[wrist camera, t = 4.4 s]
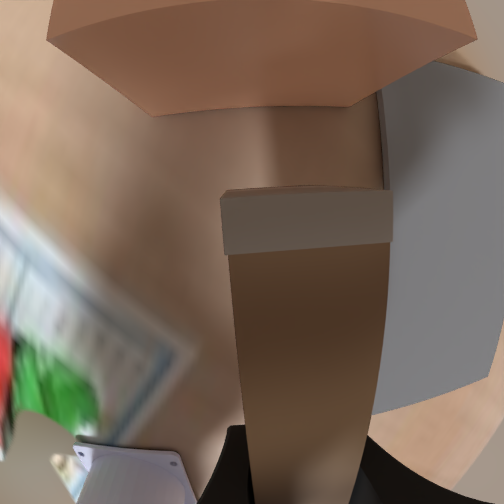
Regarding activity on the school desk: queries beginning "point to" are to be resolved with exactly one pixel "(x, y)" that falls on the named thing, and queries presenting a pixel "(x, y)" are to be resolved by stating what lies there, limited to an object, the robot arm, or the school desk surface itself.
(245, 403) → the brown block
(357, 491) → the robot arm
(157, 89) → the tile
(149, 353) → the school desk surface
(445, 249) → the mat
